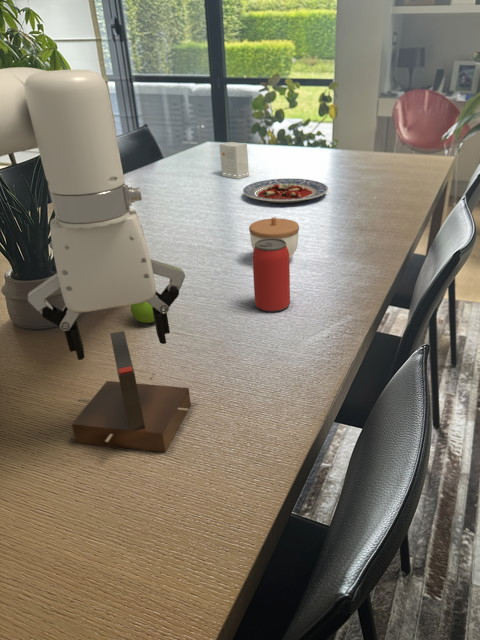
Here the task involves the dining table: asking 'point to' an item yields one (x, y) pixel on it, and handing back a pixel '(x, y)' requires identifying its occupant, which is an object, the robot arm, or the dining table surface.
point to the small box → (234, 159)
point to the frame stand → (112, 423)
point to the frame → (127, 381)
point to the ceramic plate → (285, 190)
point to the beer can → (271, 274)
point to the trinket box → (275, 232)
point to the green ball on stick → (143, 312)
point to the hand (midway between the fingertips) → (122, 346)
